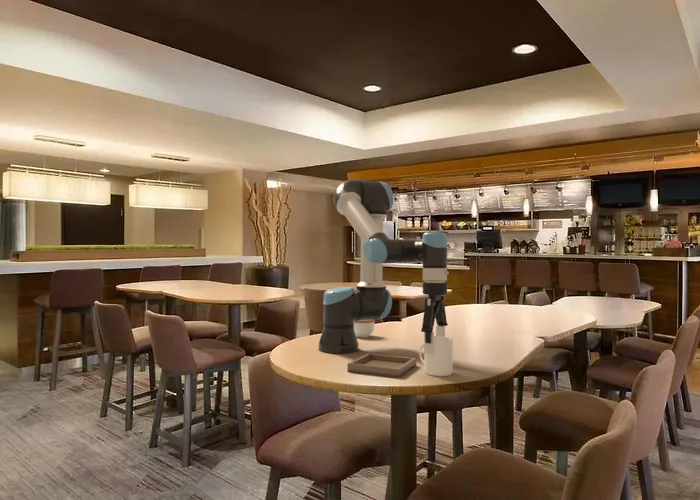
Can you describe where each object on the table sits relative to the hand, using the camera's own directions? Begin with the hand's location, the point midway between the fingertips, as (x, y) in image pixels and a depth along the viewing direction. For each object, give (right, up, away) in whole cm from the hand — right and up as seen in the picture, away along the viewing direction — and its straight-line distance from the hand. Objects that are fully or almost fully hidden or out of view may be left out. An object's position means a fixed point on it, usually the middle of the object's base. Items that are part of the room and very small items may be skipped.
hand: (435, 350), depth 156 cm
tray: (-16, -7, +4) cm, 18 cm away
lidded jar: (-21, -7, +63) cm, 67 cm away
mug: (0, -7, 0) cm, 7 cm away
